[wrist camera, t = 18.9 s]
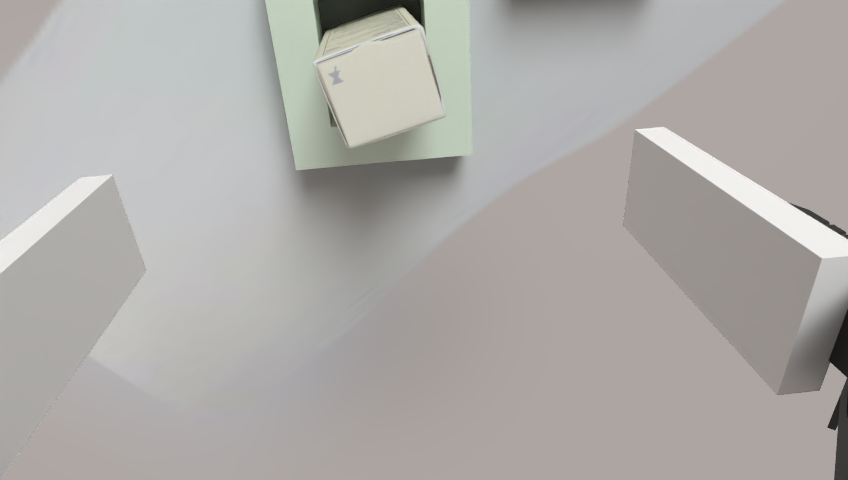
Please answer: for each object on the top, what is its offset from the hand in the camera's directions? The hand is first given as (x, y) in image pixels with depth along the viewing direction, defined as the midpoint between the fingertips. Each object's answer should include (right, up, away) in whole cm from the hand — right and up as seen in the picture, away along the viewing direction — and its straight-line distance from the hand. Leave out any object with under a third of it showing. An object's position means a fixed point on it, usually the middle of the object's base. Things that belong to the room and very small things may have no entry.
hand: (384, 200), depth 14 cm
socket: (-2, +10, +20) cm, 23 cm away
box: (-2, +11, +20) cm, 23 cm away
